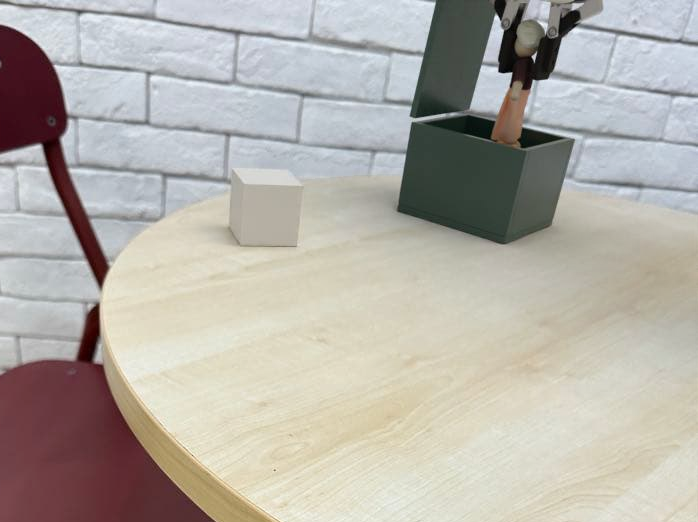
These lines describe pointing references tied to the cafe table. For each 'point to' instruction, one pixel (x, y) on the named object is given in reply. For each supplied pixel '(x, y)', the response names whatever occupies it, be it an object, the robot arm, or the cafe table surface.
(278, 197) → the light grey cube
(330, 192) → the cafe table surface
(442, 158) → the bin
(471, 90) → the bin lid
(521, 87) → the grandmother figurine
